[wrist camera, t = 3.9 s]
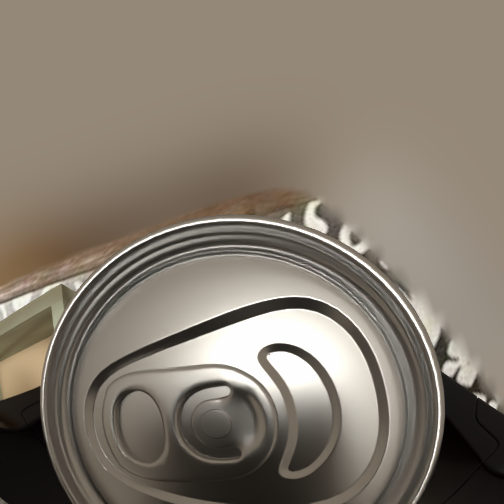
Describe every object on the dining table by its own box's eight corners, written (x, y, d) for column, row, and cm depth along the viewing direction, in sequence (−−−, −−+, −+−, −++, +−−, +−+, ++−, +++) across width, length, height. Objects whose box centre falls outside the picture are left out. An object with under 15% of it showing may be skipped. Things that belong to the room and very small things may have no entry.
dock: (163, 498, 11) (130, 518, 8) (35, 502, 10) (2, 506, 7) (97, 304, 17) (61, 283, 14) (-2, 356, 16) (-35, 345, 13)
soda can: (355, 442, 12) (490, 545, 1) (223, 466, 12) (64, 574, 1) (328, 321, 15) (387, 144, 4) (203, 347, 15) (30, 238, 5)
